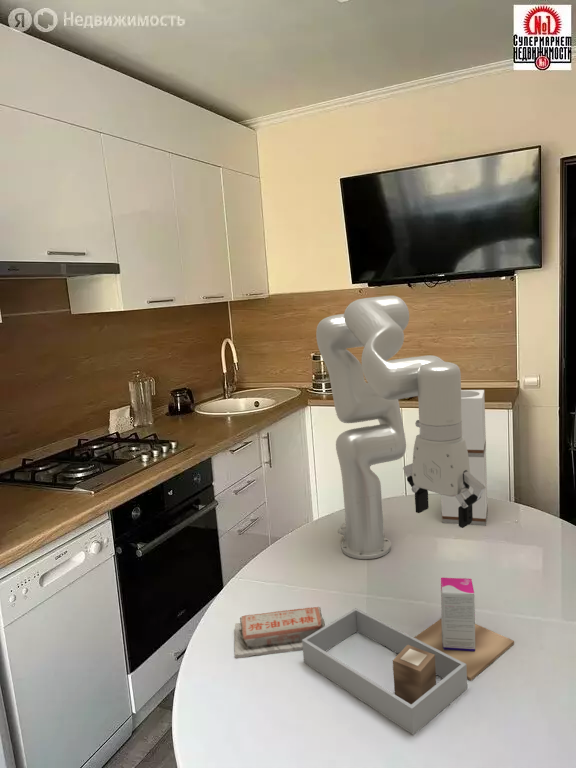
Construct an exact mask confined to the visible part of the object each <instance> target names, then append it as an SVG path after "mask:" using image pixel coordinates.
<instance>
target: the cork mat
mask: <svg viewBox="0 0 576 768" xmlns="http://www.w3.org/2000/svg"><path fill="white" fill-rule="evenodd" d="M413 637H414V638H416V639H418V640H420V641H422V642H424V643H426V644H428V645H430V646H432V647H434V648H436V649H438V650H440V651H442V652H443V653H445V654H447V655H449V656H451V657H453V658H455V659H457V660H459V661H461V662H463V663H465V664H466V668H467V681H470V682H472V681H473V680H474V679H475V678H476V677H477V676H479V674H481V673H482V672H483V671H485V670H486V669H487V668H488V667H489V666H490V665H491V664H493V663H494V662H495V661H496V660H497V659H498V658H500V657H501V656H502V655H503V654H505V652H506V651H508V650H509V649H510V648H511V647H512V646H514V645H515V640H513V639H510V637H506V636H503V635H501V634H499V633H497V632H496V631H494V630H493V631H492V630H490V629H489V628H486V627H483V626H482V625H480V624H478V623H475V651H453V650H443V643H442V619H441V618H439V619H438V620H436V622H434V623H432V624H431V625H429V626H428V627H427V628H426V629H425V628H424V629H423V630H422V631H421V632H420V633H418V634H417V635H415V636H413Z"/></svg>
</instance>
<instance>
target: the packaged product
mask: <svg viewBox="0 0 576 768" xmlns="http://www.w3.org/2000/svg"><path fill="white" fill-rule="evenodd" d="M239 620H240V621H239V622H238V623H234V624H235V625H234V657H235V659H241V658H246V657H247V658H248V657H252V656H262V655H270V654H272V655H273V654H280V653H291V652H297V651H301V650H302V651H303V646H302V640H303V639H305V638H306V637H308V636H310V635H311V634H313V633H315V632H316V631H318V630H320V629H321V628H323V627H325V626H326V624H325V623H326V622H325V621H326V620H325V619H324V618H323V614H322V609H321V607H319V606H315V607H305V608H297V609H295V608H294V609H288V610H287V609H286V610H280V611H279V610H278V611H273V612H272V611H271V612H265V613H253V614H246V615H242V616H240V618H239Z"/></svg>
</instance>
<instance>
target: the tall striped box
mask: <svg viewBox="0 0 576 768" xmlns="http://www.w3.org/2000/svg"><path fill="white" fill-rule="evenodd" d="M461 413H462V438H464V439H465V442H466V446H467V451H468V457H469V465H470V474H471V475H472V476H473V477H475V478H476V479H477V480H478V481H479V482H481V483H482V484H483V485H484V486H485V490H484V492H483V494H482V495H481V498H480V499H479V500H477V501H476V502H475V503H474V504H472V513H473V519H472V522H471V524H469V525H468V526H482V527H486V526H487V521H488V513H489V503H488V475H487V436H486V435H487V434H486V433H487V431H486V406H485V389H461ZM469 491H470V492H471V494H472V493H473V488H472V487H471V486H470V488H469ZM462 495H463V496H464V494H463V493H462ZM464 498H465V499H466V497H465V496H464ZM440 499H441V501H440V502H441V504H440V505H441V523H442V524H449V525H459V519H458V508H459V507H460V506H461V504H460V503H459V501H458V500H457V498H456V497H455V496H454V497H450V496H446V495H442V494H440Z"/></svg>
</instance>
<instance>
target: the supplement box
mask: <svg viewBox="0 0 576 768" xmlns="http://www.w3.org/2000/svg"><path fill="white" fill-rule="evenodd" d="M475 604H476V603H475V591H474V585H473V581H472V578H466V577H465V578H461V577H459V578H458V577H457V578H456V577H440V606H441V607H440V608H441V610H440V611H441V618H440V619H442V643H443V650H453V651H475V624H476V613H475V612H476V610H475V609H476V608H475V606H476V605H475Z"/></svg>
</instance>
